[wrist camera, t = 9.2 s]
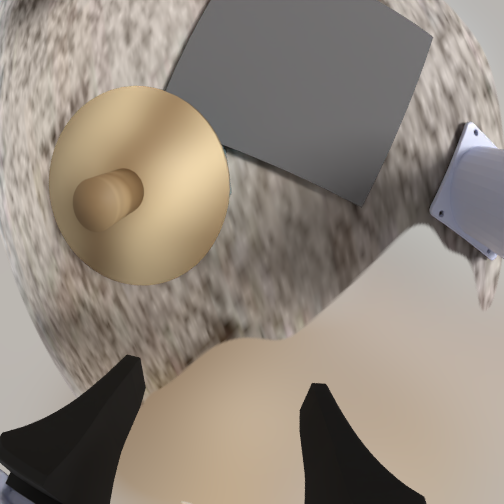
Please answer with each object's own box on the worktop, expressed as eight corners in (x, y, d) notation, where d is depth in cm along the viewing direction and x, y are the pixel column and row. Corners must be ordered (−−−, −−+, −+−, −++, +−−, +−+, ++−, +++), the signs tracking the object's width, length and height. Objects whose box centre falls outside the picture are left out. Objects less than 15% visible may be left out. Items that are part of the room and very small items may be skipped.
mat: (429, 38, 12) (433, 37, 12) (358, 205, 18) (361, 207, 17) (243, -45, 11) (243, -49, 10) (157, 121, 16) (153, 120, 15)
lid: (266, 131, 13) (267, 128, 9) (187, 306, 17) (170, 347, 13) (87, 70, 11) (46, 61, 8) (46, 235, 16) (11, 258, 12)
